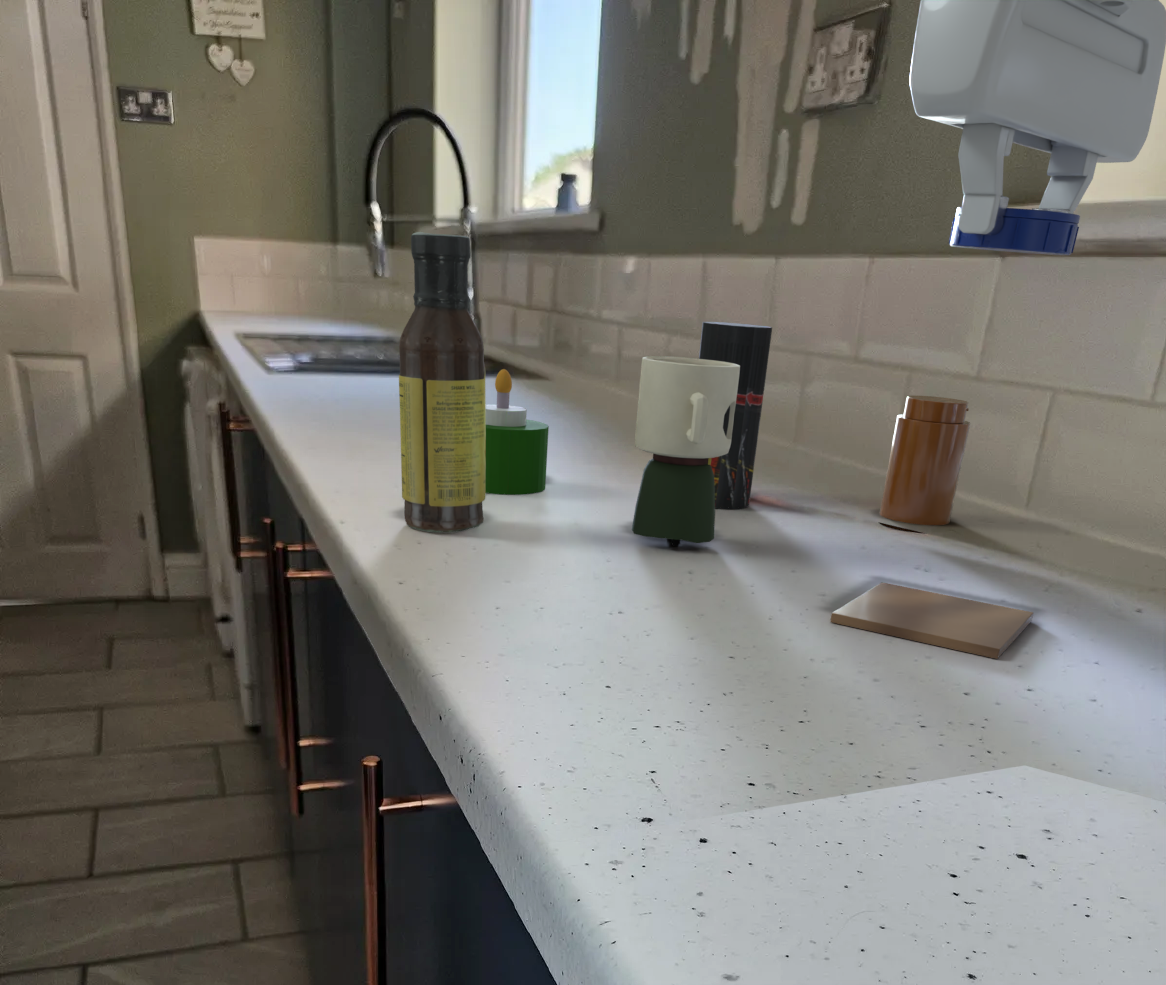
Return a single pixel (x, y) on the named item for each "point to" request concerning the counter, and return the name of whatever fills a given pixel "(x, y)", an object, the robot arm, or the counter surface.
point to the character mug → (682, 444)
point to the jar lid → (1024, 233)
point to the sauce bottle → (442, 392)
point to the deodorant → (739, 404)
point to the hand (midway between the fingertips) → (1012, 239)
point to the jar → (925, 461)
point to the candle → (513, 446)
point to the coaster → (935, 619)
